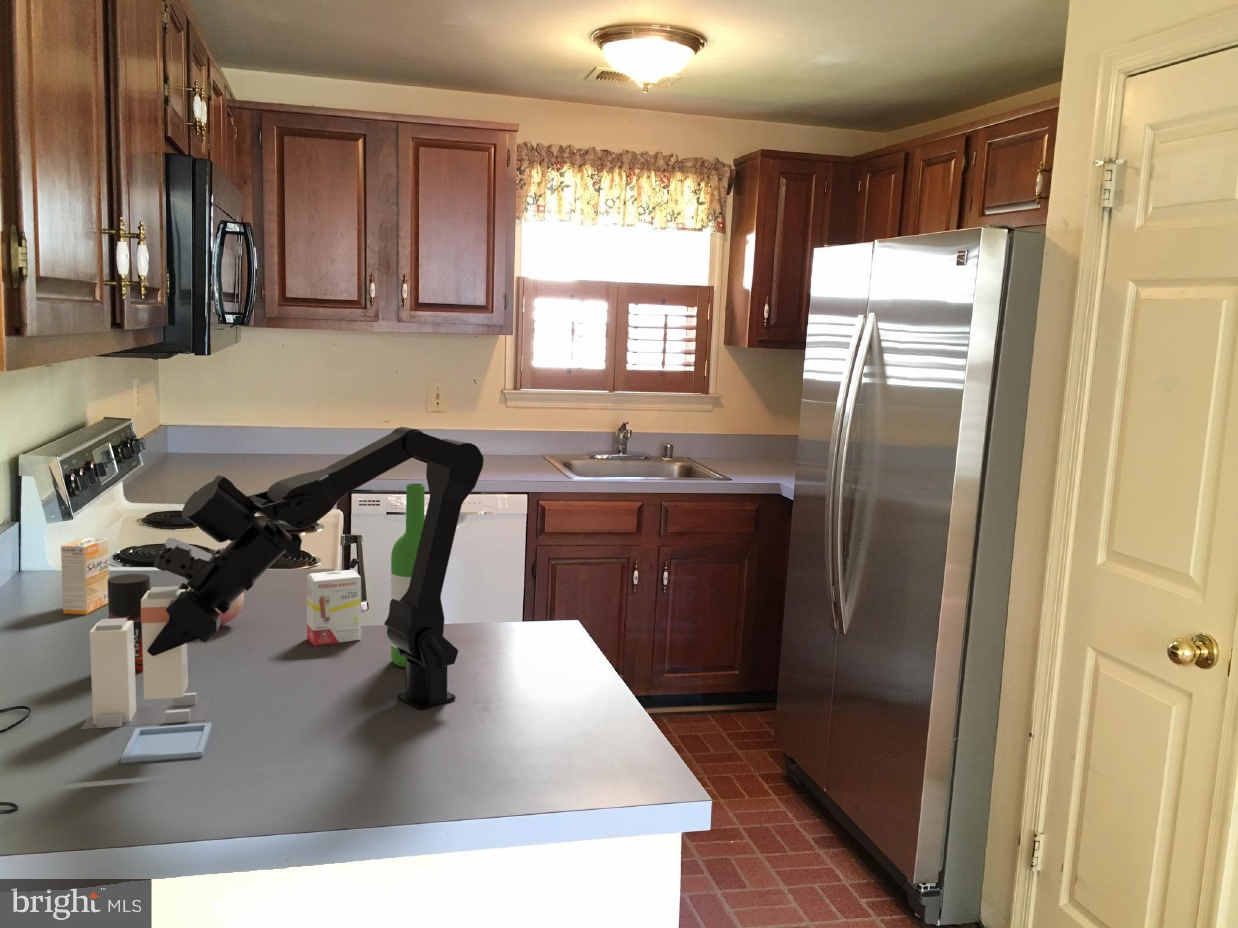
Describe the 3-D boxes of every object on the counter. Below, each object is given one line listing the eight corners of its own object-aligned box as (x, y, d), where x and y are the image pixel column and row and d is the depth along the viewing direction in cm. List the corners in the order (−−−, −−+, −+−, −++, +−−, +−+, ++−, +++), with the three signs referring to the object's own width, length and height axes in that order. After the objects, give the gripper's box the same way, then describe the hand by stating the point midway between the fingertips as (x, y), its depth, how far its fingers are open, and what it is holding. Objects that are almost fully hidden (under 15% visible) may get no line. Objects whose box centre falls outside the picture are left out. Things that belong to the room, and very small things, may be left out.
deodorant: (142, 661, 158) (139, 571, 156) (159, 670, 155) (156, 578, 153) (104, 670, 154) (100, 578, 152) (121, 680, 150) (117, 585, 148)
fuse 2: (188, 684, 129) (186, 584, 127) (182, 697, 125) (180, 593, 123) (150, 686, 128) (147, 585, 126) (143, 699, 123) (140, 595, 122)
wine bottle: (427, 671, 158) (428, 489, 154) (382, 667, 160) (382, 486, 156) (445, 656, 166) (446, 482, 162) (402, 652, 167) (403, 479, 163)
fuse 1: (136, 709, 138) (133, 616, 136) (129, 721, 133) (126, 625, 132) (101, 711, 137) (97, 617, 135) (93, 724, 132) (89, 627, 130)
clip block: (211, 704, 142) (211, 691, 141) (205, 723, 135) (204, 709, 135) (93, 712, 138) (93, 698, 137) (80, 732, 131) (80, 718, 130)
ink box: (312, 646, 169) (312, 580, 167) (306, 638, 173) (305, 573, 171) (362, 640, 173) (362, 575, 171) (354, 632, 177) (354, 569, 176)
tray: (211, 730, 133) (211, 722, 133) (202, 760, 124) (202, 751, 124) (136, 736, 130) (135, 727, 130) (120, 766, 121) (120, 757, 121)
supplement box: (87, 615, 182) (85, 546, 180) (62, 614, 182) (59, 545, 180) (111, 603, 190) (109, 537, 188) (87, 602, 190) (84, 536, 188)
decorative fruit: (253, 621, 182) (253, 568, 180) (232, 634, 174) (231, 579, 172) (205, 618, 183) (204, 566, 181) (182, 631, 175) (180, 576, 173)
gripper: (205, 505, 133) (119, 587, 132) (183, 533, 115) (83, 628, 114) (267, 560, 136) (184, 640, 135) (255, 595, 119) (159, 688, 117)
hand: (153, 647), depth 125 cm, fingers closed on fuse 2, 4 cm apart
